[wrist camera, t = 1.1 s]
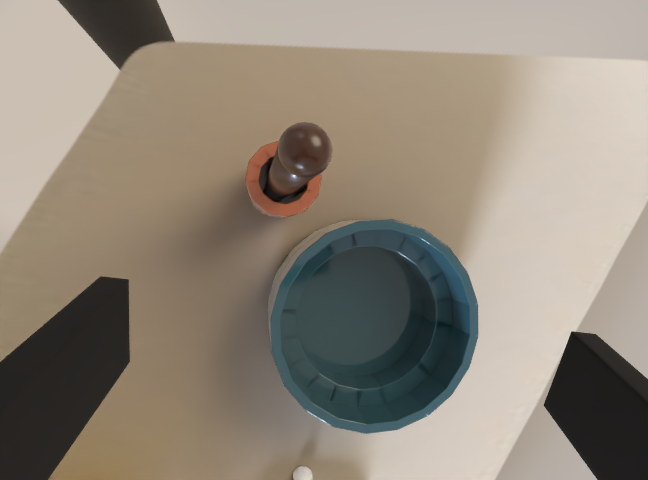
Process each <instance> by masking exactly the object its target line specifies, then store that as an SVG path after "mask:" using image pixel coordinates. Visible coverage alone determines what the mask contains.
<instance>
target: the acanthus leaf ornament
mask: <svg viewBox="0 0 648 480" xmlns="http://www.w3.org/2000/svg"><path fill="white" fill-rule="evenodd" d="M293 480H312V472H311V470H310V469H309V468H308V467H303V466H301V467H298V468H297V469H295V471H294V472H293Z"/></svg>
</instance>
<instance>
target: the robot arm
mask: <svg viewBox="0 0 648 480" xmlns="http://www.w3.org/2000/svg"><path fill="white" fill-rule="evenodd" d="M129 362H130V351H129V280H127V279H119V278H110V277H102V276H101V277H100V278H98V279H97V280H96V281H95V282H94V283H92V284H91V285H90V286H89V287H88V288H87V289H85V290H84V291H83V292H82V293H81V294H80V295H78V296H77V297H76V298H75V299H74V300H73V301H71V302H70V303H69V304H68V305H67V306H65V307H64V308H63V309H62V310H61V311H60V312H58V313H57V314H56V315H55V316H54V317H53V318H51V319H50V320H49V321H48V322H47V323H46V324H44V325H43V326H42V327H41V328H40V329H38V330H37V331H36V332H35V333H34V334H33V335H31V336H30V337H29V338H28V339H27V340H26V341H24V342H23V343H22V344H21V345H20V346H19V347H17V348H16V349H15V350H14V351H13V352H11V353H10V354H9V355H8V356H7V357H6V358H4V359H3V360H2V361H1V362H0V480H48V479H49V477H50V476H51V474H52V473H53V471H54V470H55V468H56V467H57V466H58V464H59V463H60V461H61V460H62V458H63V457H64V456H65V454H66V453H67V451H68V450H69V448H70V447H71V445H72V444H73V443H74V441H75V440H76V438H77V437H78V435H79V434H80V432H81V431H82V430H83V428H84V427H85V425H86V424H87V422H88V421H89V420H90V418H91V417H92V415H93V414H94V412H95V411H96V409H97V408H98V407H99V405H100V404H101V402H102V401H103V399H104V398H105V397H106V395H107V394H108V392H109V391H110V389H111V388H112V386H113V385H114V384H115V382H116V381H117V379H118V378H119V376H120V375H121V373H122V372H123V371H124V369H125V368H126V366H127V365H128V363H129ZM544 406H545V408H546V409H547V411H548V412H549V413H550V415H551V416H552V418H553V419H554V420H555V422H556V423H557V424H558V426H559V427H560V429H561V430H562V431H563V433H564V434H565V435H566V437H567V438H568V439H569V441H570V442H571V444H572V445H573V446H574V448H575V449H576V451H577V452H578V453H579V455H580V456H581V458H582V459H583V460H584V461H585V463H586V464H587V466H588V467H589V468H590V470H591V471H592V473H593V474H594V475H595V476H596V478H597V480H648V379H647V378H646V377H644V376H643V375H642V374H641V373H640V372H639V371H638V370H636V369H635V368H634V367H633V366H632V365H631V364H630V363H628V362H627V361H626V360H625V359H624V358H623V357H622V356H620V355H619V354H618V353H617V352H616V351H615V350H613V349H612V348H611V347H610V346H609V345H608V344H607V343H605V342H604V341H603V340H602V339H601V338H600V337H598V336H597V335H596V334H590V333H581V332H571V335H570V337H569V340H568V342H567V345H566V348H565V350H564V353H563V356H562V358H561V361H560V364H559V366H558V369H557V371H556V374H555V377H554V379H553V382H552V385H551V387H550V390H549V393H548V395H547V398H546V400H545V403H544Z"/></svg>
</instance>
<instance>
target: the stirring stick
mask: <svg viewBox="0 0 648 480" xmlns="http://www.w3.org/2000/svg"><path fill="white" fill-rule="evenodd" d="M331 157H332V144H331V141H330V138H329V136H328V135H327V133H326V132H325V131H324V130H323V129H322V128H320V127H319V126H317V125H315V124H312V123H307V122H302V123H297V124H295V125H292V126H291V127H289V128H288V129H287V130H286V131H285V132H284V133H283V134H282V136H281V138H280V140H279V143H278V146H277V149H276V152H275V155H274V158H273V162H272V165H271V168H270V171H269V174H268V177H267V180H266V183H265V192H266V194H267V195H268V196H269V197H270V198H271V199H273V200H282V199H284V198H286V197H287V196H289V195H290V194H291V193H293V192H294V191H296V190H297V189H299V188H300V187H301V186H303V185H304V184H306V183H307V182H309V181H310V180H311V179H313V178H314V177H316V176H317V175H319V174H320V173H321V172H323V171H324V170H325V169H326V167H327V166H328V164H329V162H330V160H331Z"/></svg>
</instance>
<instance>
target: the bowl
mask: <svg viewBox="0 0 648 480" xmlns="http://www.w3.org/2000/svg"><path fill="white" fill-rule="evenodd" d="M268 325H269V337H270V344H271V351H272V355H273V358H274V360H275V363H276V366H277V368H278V371H279V373H280V376H281V379H282V381H283V384H284V386H285V387H286V388H287V389H288V390H289V392H290V393H291V394H292V395H293V396H294V398H295V399H296V400H297V401H298V402H299V403H300V405H301V406H302V407H303V408H304V409H305V410H306V411H307V412H309V413H310V414H312V415H314V416H316V417H317V418H319V419H321V420H322V421H324V422H326V423H327V424H329V425H331V426H333V427H336V428H341V429H346V430H351V431H356V432H360V433H366V434H367V433H376V432H384V431H392V430H398V429H400V428H403V427H405V426H407V425H409V424H411V423H414V422H416V421H418V420H420V419H422V418H425V417H427V416H428V415H430V414H431V413H432V412H433V411H434V410H435V409H436V408H438V407H439V406H440V405H441V404H442V403H443V402H444V401H445V400H447V399H448V398H449V397H450V396H451V395H452V394H453V392H454V391H455V389H456V388H457V386H458V384H459V383H460V381H461V380H462V378H463V376H464V375H465V373H466V372H467V370H468V368H469V366H470V364H471V360H472V356H473V353H474V349H475V346H476V342H477V339H478V304H477V299H476V296H475V293H474V290H473V287H472V284H471V281H470V278H469V275H468V273H467V271H466V270H465V268H464V267H463V266H462V264H461V263H460V261H459V260H458V259H457V257H456V256H455V255H454V253H453V252H452V250H451V249H450V248H449V247H448V246H447V245H445V244H444V243H443V242H441V241H440V240H438V239H437V238H436V237H434V236H433V235H431V234H430V233H429V232H427V231H426V230H424V229H422V228H419V227H416V226H413V225H409V224H406V223H403V222H399V221H396V220H391V219H370V220H343V221H340V222H337V223H335V224H332V225H329V226H327V227H324V228H321V229H318V230H316V231H314V232H313V233H312V234H311V235H309V236H308V237H307V238H306V239H304V240H303V241H302V242H301V243H299V244H298V245H297V246H295V247H294V248H293V249H292V250H291V252H290V253H289V255H288V256H287V258H286V259H285V261H284V262H283V264H282V265H281V267H280V268H279V270H278V271H277V273H276V275H275V278H274V282H273V285H272V289H271V292H270V296H269V299H268Z"/></svg>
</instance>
